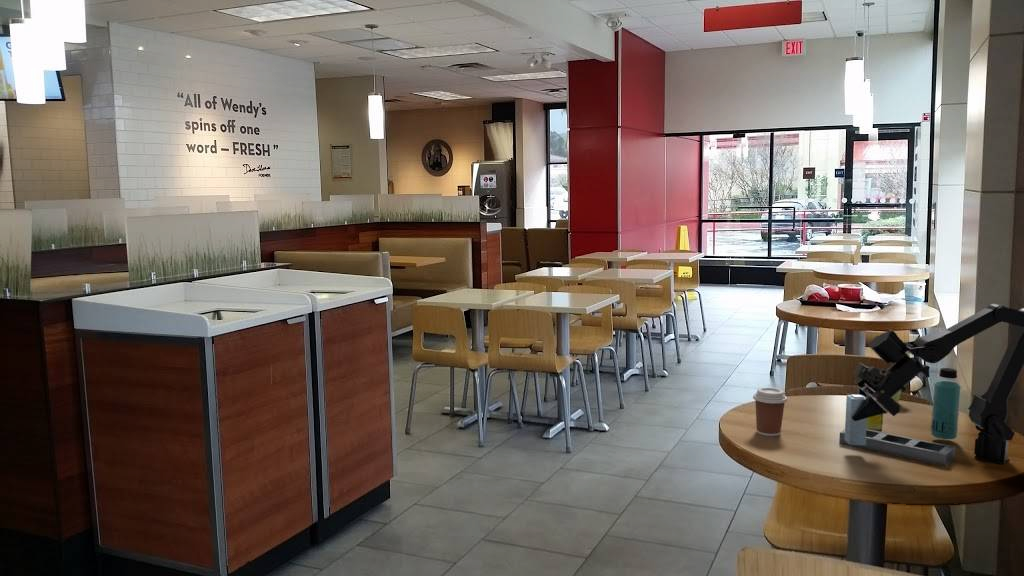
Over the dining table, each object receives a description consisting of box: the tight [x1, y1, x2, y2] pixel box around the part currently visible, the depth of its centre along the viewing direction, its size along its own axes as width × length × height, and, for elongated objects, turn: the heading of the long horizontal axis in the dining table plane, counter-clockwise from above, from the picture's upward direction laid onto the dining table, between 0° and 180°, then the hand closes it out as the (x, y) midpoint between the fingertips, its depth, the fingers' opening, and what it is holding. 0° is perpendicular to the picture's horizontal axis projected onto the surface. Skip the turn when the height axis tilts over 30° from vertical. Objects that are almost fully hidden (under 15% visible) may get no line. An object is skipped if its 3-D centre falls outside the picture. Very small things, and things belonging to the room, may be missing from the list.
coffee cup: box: [752, 386, 788, 437], centre depth 226 cm, size 9×9×12 cm
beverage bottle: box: [929, 367, 962, 440], centre depth 219 cm, size 6×7×20 cm
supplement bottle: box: [867, 414, 884, 432], centre depth 228 cm, size 5×5×8 cm
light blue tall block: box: [844, 394, 867, 446], centre depth 209 cm, size 4×4×12 cm
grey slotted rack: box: [838, 429, 956, 467], centre depth 212 cm, size 26×8×3 cm, turn 48°
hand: (850, 417), depth 209 cm, fingers closed on light blue tall block, 4 cm apart
